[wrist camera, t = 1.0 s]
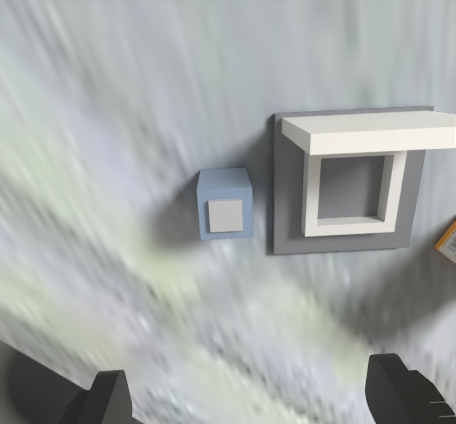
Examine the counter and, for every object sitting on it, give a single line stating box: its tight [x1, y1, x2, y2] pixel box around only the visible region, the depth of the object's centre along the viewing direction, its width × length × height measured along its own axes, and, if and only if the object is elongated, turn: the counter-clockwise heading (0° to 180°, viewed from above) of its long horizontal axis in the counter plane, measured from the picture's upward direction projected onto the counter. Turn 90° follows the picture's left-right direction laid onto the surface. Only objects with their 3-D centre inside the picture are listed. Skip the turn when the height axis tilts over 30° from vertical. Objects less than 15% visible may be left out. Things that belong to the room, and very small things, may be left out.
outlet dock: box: [273, 106, 456, 254], centre depth 25 cm, size 13×13×10 cm
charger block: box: [197, 167, 253, 240], centre depth 27 cm, size 4×4×6 cm
